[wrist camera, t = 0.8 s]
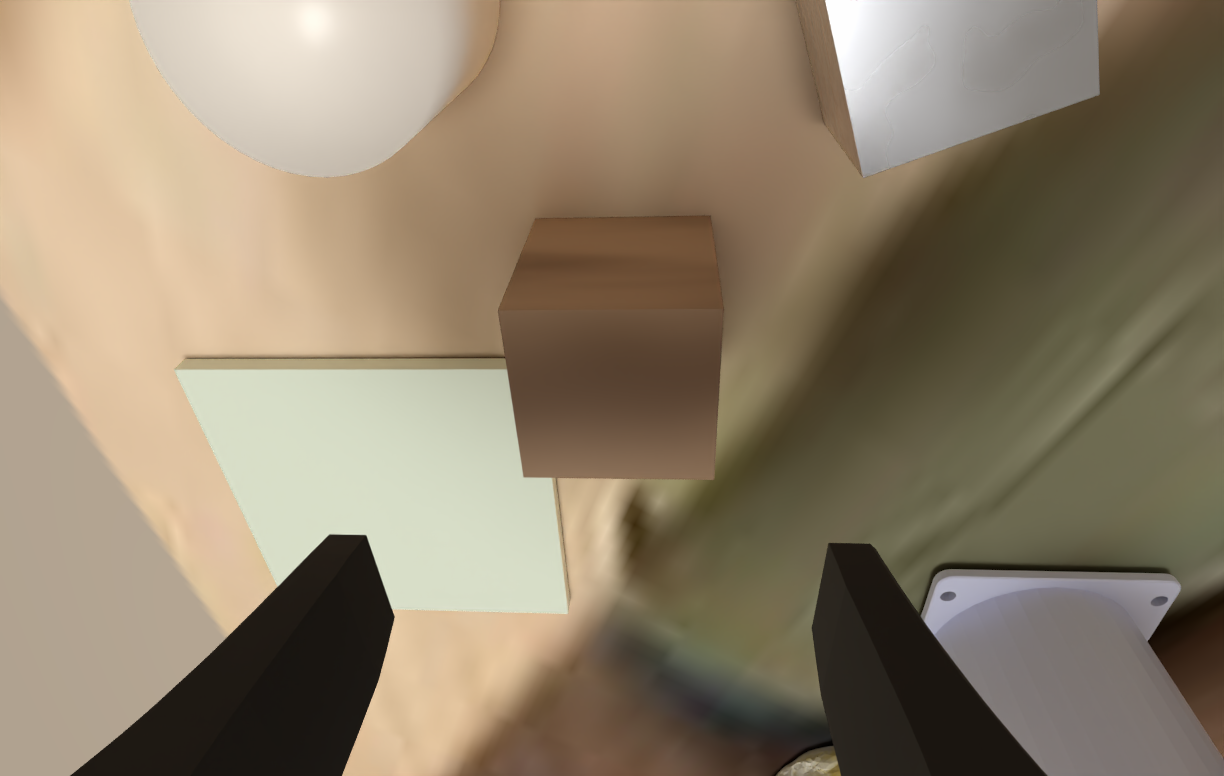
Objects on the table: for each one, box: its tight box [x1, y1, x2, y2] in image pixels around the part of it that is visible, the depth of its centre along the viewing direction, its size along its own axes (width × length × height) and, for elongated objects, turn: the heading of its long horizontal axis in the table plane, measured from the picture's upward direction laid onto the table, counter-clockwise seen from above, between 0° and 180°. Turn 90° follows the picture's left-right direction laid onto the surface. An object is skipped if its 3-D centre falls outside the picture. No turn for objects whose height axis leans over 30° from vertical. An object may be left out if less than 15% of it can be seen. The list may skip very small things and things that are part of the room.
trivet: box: [174, 358, 570, 614], centre depth 24 cm, size 11×11×1 cm
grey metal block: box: [796, 0, 1099, 178], centre depth 13 cm, size 4×4×4 cm
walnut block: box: [498, 216, 724, 480], centre depth 17 cm, size 4×4×5 cm
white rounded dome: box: [129, 0, 500, 177], centre depth 13 cm, size 5×5×5 cm
